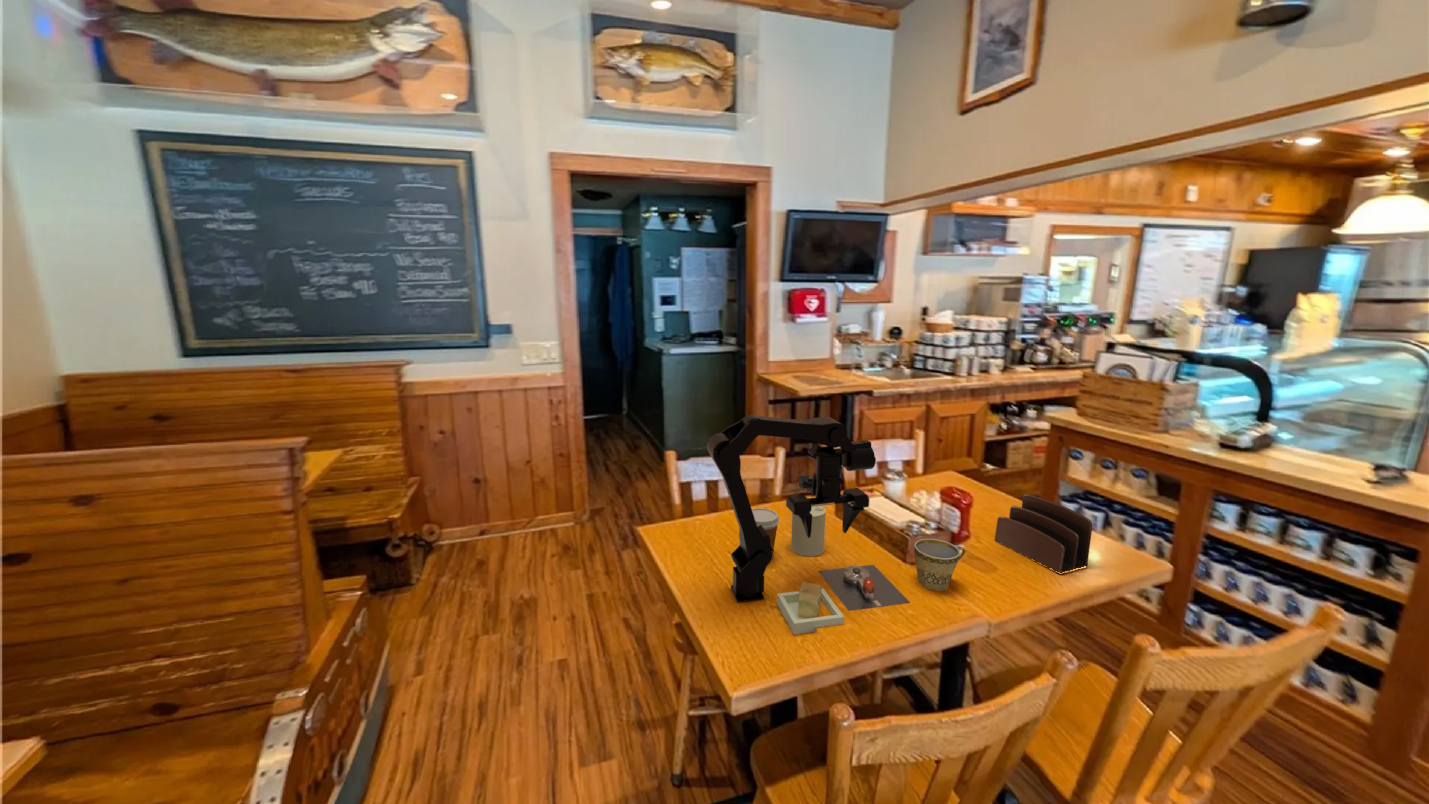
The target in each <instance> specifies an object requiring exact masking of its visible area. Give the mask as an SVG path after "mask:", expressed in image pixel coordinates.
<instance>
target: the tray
mask: <svg viewBox="0 0 1429 804" xmlns="http://www.w3.org/2000/svg"><path fill="white" fill-rule="evenodd" d="M776 594H777V596H776V601H777V602H776V605H777V606H778V608H779V610H780V612H781V614H782V616H783V618H784V619H785V621H786V623H787V625H788V627H789V628H790V630H791V632H792V634H793V635H795V636H796V635H802V634H809V633H816V632H817V633H818V629H817V628H822V627H824V628H825V627H830V626H831V627H832V626H839V625H844V623H845V616H844V615H843V613H842V612H841V611H840V609H839V607H837V605H836V603H834V601H833V600H832V599H831V597H830V596H829V594H828V592H827V591H826V590H825V588H822V587H821V599H820V600H821V601H822V602H823V604H824V605H825V606H826V607H827V609H828V610H829V612H830V614H831V615H826V616H825V615H824V616H817V617H816V618H810V617H809V619H808V618H803V617H799V616H798V605H799V591H790V592H789V591H788V592H781V593H776Z"/></svg>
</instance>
